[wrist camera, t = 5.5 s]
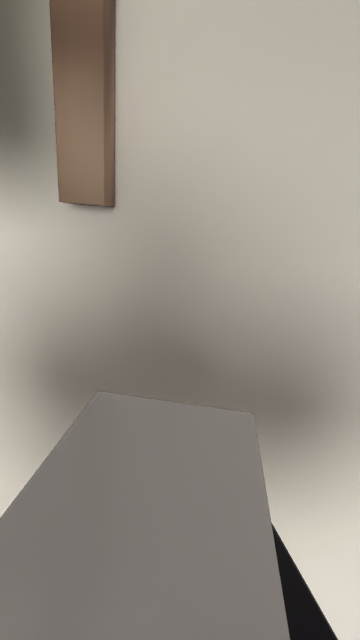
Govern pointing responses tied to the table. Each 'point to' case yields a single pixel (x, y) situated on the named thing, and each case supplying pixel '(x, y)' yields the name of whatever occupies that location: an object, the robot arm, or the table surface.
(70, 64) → the frame
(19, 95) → the table surface
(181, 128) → the table surface
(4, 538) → the grey rectangular block
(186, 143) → the table surface
